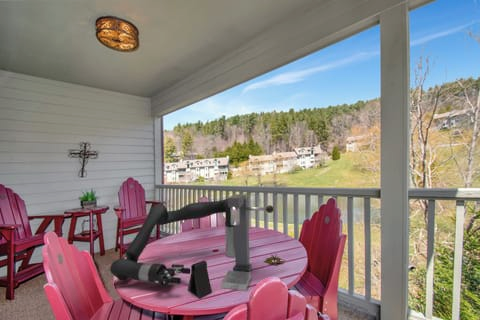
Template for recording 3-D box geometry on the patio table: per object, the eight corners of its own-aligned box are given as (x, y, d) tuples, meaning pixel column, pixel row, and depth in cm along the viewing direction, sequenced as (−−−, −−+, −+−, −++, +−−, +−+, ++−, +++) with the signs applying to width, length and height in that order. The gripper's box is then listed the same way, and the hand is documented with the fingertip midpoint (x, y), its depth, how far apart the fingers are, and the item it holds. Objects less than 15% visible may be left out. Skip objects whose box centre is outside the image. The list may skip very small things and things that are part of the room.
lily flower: (289, 261, 120) (289, 253, 120) (277, 269, 111) (277, 260, 111) (271, 256, 128) (271, 248, 128) (259, 262, 119) (258, 254, 120)
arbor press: (233, 267, 114) (232, 193, 115) (276, 271, 108) (273, 194, 110) (221, 287, 94) (219, 199, 96) (271, 293, 89) (268, 199, 91)
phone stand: (187, 290, 93) (187, 261, 94) (199, 285, 97) (199, 257, 98) (199, 299, 87) (199, 268, 87) (211, 292, 91) (211, 263, 91)
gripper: (162, 273, 104) (193, 276, 100) (141, 289, 90) (176, 294, 86) (161, 257, 104) (192, 260, 100) (141, 271, 91) (176, 274, 86)
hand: (185, 275), depth 93 cm, fingers open, 8 cm apart
